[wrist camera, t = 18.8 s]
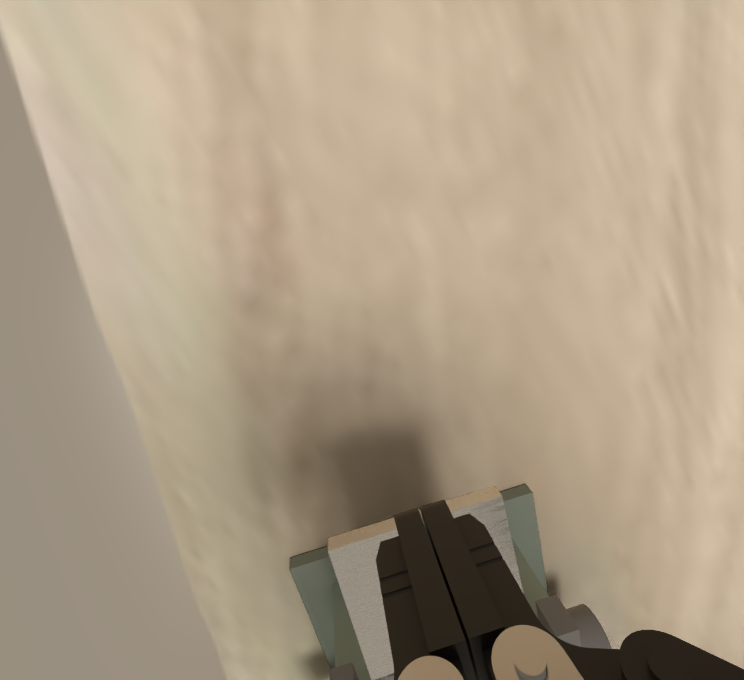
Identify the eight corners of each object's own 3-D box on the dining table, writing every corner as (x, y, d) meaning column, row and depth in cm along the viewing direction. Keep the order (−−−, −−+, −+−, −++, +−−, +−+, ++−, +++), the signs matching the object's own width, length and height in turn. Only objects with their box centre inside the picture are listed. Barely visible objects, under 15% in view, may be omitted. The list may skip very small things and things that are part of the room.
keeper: (525, 630, 17) (491, 482, 15) (539, 656, 16) (505, 499, 14) (376, 680, 17) (328, 533, 15) (380, 711, 15) (327, 555, 14)
